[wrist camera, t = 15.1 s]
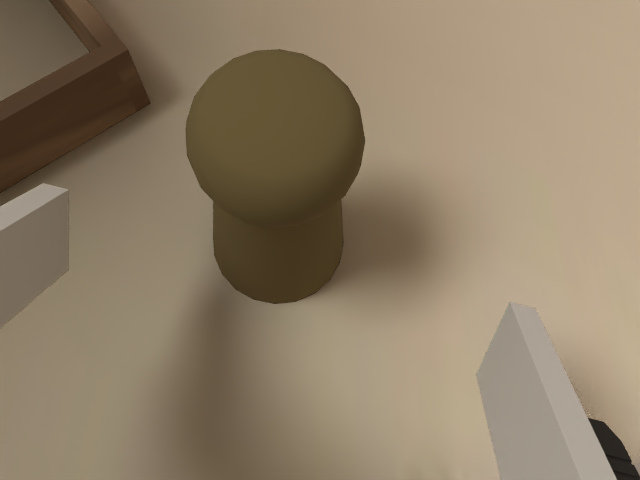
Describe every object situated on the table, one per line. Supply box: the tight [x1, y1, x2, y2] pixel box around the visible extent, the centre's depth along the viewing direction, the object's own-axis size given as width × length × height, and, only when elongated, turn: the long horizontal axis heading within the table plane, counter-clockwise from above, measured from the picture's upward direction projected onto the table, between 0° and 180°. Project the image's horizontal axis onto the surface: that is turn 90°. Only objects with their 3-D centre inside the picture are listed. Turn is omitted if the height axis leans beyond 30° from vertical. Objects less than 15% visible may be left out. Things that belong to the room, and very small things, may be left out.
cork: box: [186, 49, 365, 304], centre depth 19 cm, size 6×6×11 cm
